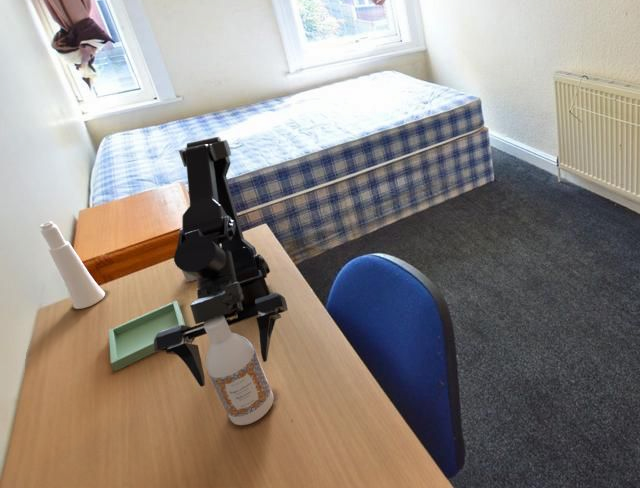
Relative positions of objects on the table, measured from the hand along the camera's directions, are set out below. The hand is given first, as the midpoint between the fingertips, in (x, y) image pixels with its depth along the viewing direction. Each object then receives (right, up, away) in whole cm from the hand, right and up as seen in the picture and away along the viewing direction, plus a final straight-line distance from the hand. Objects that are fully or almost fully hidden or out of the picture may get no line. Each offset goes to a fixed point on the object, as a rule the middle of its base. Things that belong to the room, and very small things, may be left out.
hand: (234, 373), depth 77 cm
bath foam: (0, -9, +5) cm, 10 cm away
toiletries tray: (-32, -4, +24) cm, 40 cm away
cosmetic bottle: (-57, 0, +37) cm, 69 cm away
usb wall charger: (-36, +5, +44) cm, 57 cm away
